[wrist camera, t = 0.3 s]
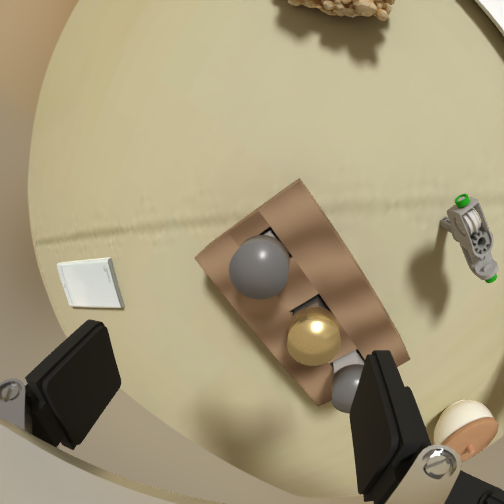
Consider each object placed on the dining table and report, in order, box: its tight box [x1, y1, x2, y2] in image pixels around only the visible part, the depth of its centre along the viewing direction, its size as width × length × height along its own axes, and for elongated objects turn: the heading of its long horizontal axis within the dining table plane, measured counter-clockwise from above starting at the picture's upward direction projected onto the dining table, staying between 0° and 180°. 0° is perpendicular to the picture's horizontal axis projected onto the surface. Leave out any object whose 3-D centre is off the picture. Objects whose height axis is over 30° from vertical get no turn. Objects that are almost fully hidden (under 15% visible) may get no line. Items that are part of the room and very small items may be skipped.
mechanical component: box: [440, 194, 498, 283], centre depth 28 cm, size 3×10×10 cm, turn 37°
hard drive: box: [57, 257, 124, 308], centre depth 44 cm, size 2×8×12 cm
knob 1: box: [229, 228, 290, 299], centre depth 30 cm, size 5×5×8 cm
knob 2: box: [331, 349, 365, 413], centre depth 33 cm, size 5×5×8 cm
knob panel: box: [195, 178, 410, 406], centre depth 36 cm, size 26×14×6 cm, turn 37°
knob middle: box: [287, 294, 341, 366], centre depth 31 cm, size 5×5×8 cm
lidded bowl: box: [434, 399, 498, 462], centre depth 36 cm, size 13×13×11 cm
